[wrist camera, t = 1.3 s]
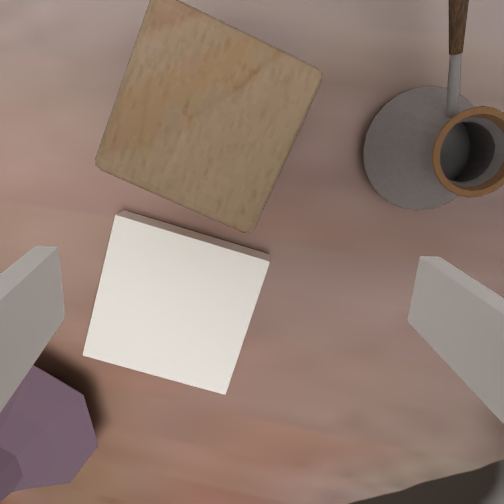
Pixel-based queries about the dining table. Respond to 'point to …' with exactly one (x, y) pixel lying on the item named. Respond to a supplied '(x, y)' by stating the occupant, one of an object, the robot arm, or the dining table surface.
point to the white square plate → (174, 302)
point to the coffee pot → (436, 139)
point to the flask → (43, 434)
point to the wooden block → (206, 114)
